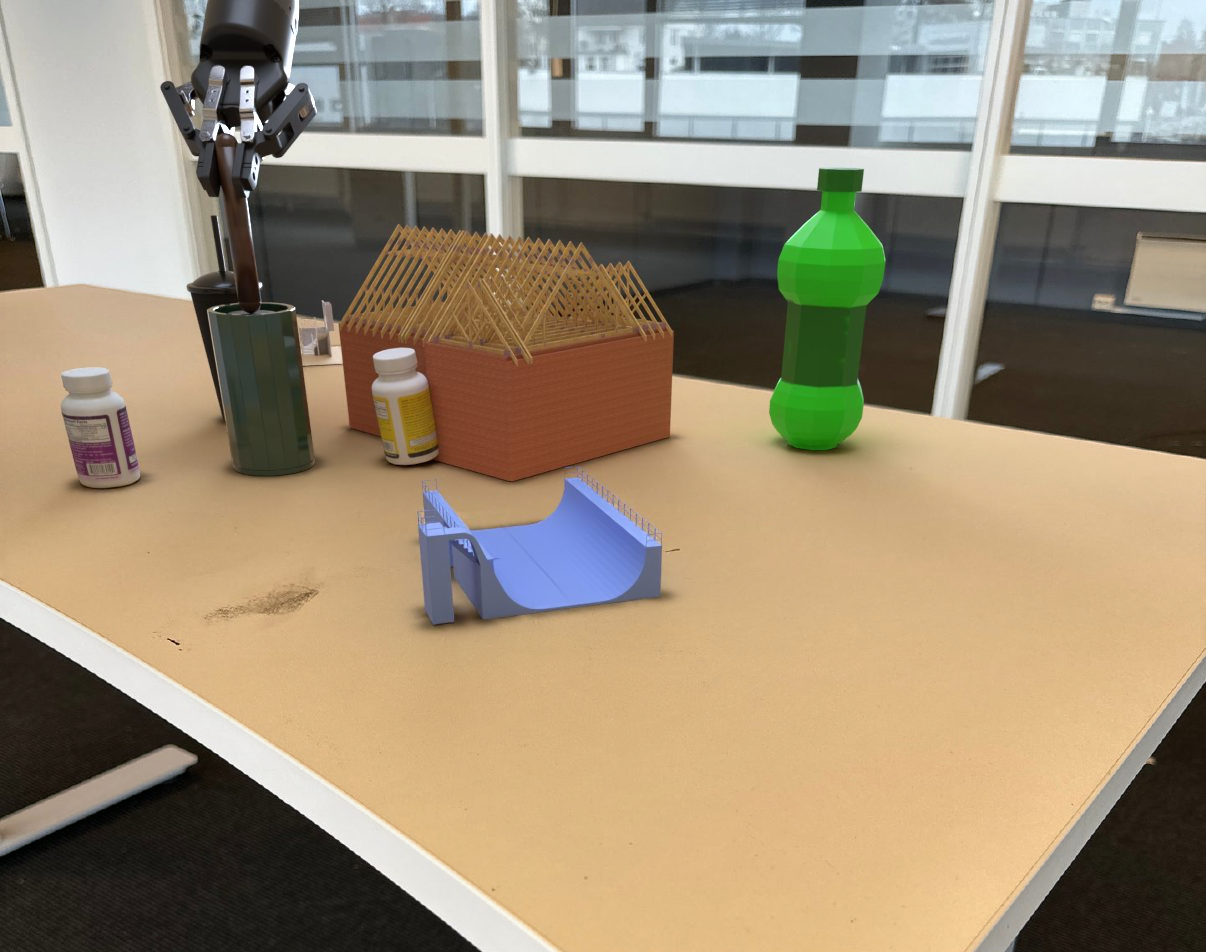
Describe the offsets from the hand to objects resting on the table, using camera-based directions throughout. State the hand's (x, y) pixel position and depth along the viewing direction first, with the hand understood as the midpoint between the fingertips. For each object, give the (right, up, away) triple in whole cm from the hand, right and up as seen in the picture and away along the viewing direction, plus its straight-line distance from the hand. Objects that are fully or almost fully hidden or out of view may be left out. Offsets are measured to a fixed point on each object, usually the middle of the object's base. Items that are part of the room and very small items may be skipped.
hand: (224, 189), depth 94 cm
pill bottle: (-14, -22, +9) cm, 28 cm away
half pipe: (+25, -34, -9) cm, 43 cm away
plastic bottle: (+54, -14, +23) cm, 60 cm away
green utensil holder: (0, -19, +14) cm, 24 cm away
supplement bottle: (+13, -18, +16) cm, 27 cm away
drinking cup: (-8, -9, +30) cm, 33 cm away
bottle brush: (0, -12, +10) cm, 16 cm away
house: (+21, -12, +25) cm, 35 cm away
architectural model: (-9, +8, +58) cm, 59 cm away
